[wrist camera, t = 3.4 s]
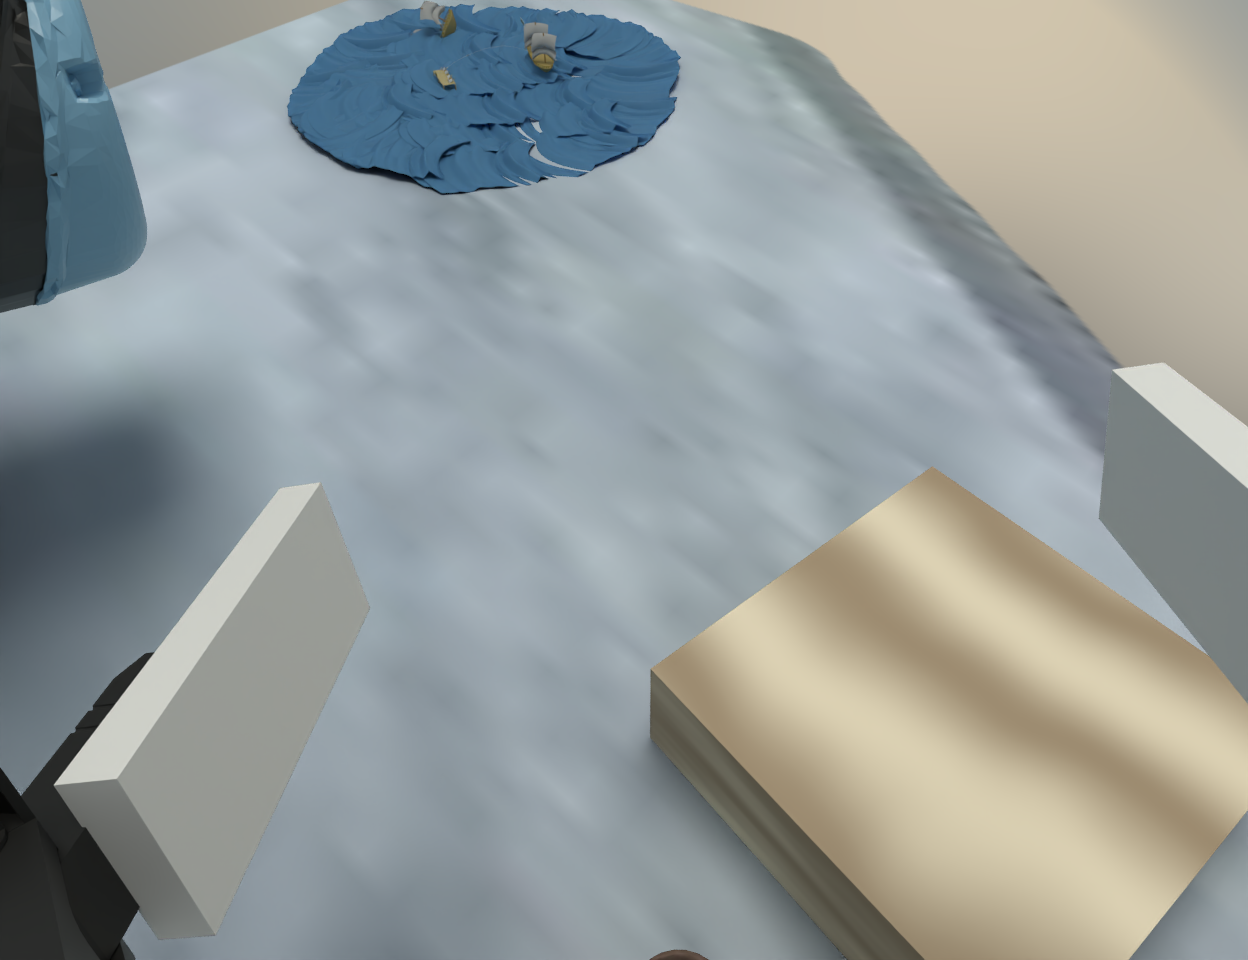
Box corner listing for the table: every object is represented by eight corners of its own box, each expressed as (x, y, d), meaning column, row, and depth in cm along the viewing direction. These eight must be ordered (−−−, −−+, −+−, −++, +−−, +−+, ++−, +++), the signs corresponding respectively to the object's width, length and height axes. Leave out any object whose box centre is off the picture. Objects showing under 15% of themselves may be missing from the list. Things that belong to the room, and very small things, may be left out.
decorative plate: (771, 121, 68) (781, 51, 64) (418, 258, 55) (405, 181, 51) (549, -5, 83) (546, -68, 79) (233, 80, 70) (212, 10, 66)
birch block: (977, 1112, 24) (1035, 1076, 21) (650, 742, 32) (650, 668, 28) (1232, 798, 30) (1313, 727, 27) (904, 548, 38) (932, 466, 34)
